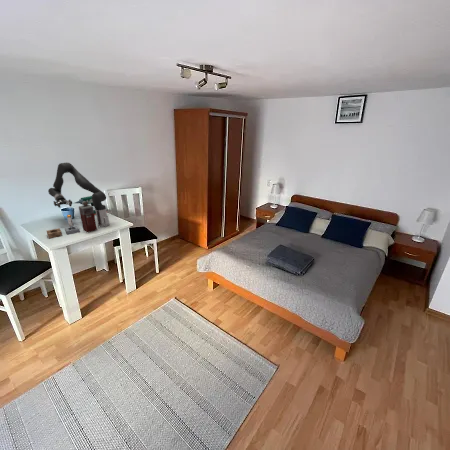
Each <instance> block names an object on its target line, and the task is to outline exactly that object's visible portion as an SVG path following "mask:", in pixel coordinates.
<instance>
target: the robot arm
mask: <svg viewBox="0 0 450 450" xmlns="http://www.w3.org/2000/svg"><path fill="white" fill-rule="evenodd" d="M67 173H69V174H71V175H72V176H73V178H74V180H75V181H74V182H75V183H76V184H77V185H78V186H79V187H80V188H81V189H83V190H86V191H88V192H90V193H92V195H91V196H92V201H93V205H94V206H93V208H94V210H95V211H96V215H95V216H96V220H97V222H96V223H97V226H98V227H99V228H106V227H109V226H110V220H109V215H108V211H107V207H106V205H105V204H103V202H105V201H106V199H107V196H106V193H104V191H102V190H101V189H100V188H98V187H96V186H95V185H94V184H93V183H92V182H90V180H89V179H87V178H86V177H85V176H84V175H83V174H82V173H80V172H79V171H78V170H77V168H76V167H75V165H72V163H71V162H60V163H59V164H57V170H56V175H55V180H54V182H53V184H52V187H50V188H49V189H48V194H49V195H50V196H51V197H53V198H54V200H52V201H53V205H54V206H55V207H57V208H59V209H60V208H61V207H62V206H63V205H68V206H69V207H72V205H73V201H72V200H71V199H68V200H67V199H66V197H65V196H64V195H63V194H62V187H63V186H64V183H65V182H64V177H63V176H64V174H67ZM101 203H102V204H101ZM61 205H62V206H61ZM106 211H107V212H106Z"/></svg>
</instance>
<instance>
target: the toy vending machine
mask: <svg viewBox="0 0 450 450" xmlns="http://www.w3.org/2000/svg"><path fill="white" fill-rule="evenodd" d="M78 210H79V215H80V219H81V224H82V229H83V231H84V232H86V233H87V232H88V233H92V232H94V231H97V230H98V228H97V222H96V218H95V216H96V215H94V211H93V210H94V206H91V204H88V202H86V201H83V202H82V204H81V205H79V206H78Z"/></svg>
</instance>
